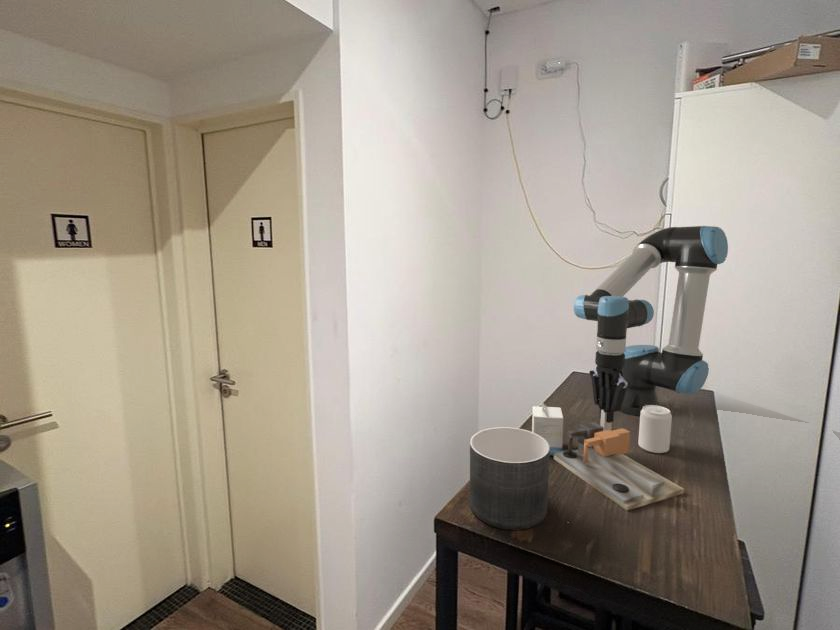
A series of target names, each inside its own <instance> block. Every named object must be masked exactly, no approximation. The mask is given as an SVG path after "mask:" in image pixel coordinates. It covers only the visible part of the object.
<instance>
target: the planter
mask: <svg viewBox="0 0 840 630" xmlns="http://www.w3.org/2000/svg"><path fill="white" fill-rule="evenodd" d="M550 456H551V455H550V446H549V444H548V442H547V441H546V440H545V439H544V438H543V437H541V436H539V435H538V434H535V433H533V432H532V431H531V430H528V429H523V428H519V427H508V426H503V427H502V426H499V427H498V426H497V427H490V428H485V429H482V430H480V431H478V432H476V433H474V434H473V435H472V436H471V438H470V440H469V507H470V510H471V512H472V513H473V514H474V516H475V517H476V518H477V519H479V520H480V521H482V522H483V523H485V524H487V525H488V526H492V527H495V528H497V529H503V530H510V531H520V530H521V531H523V530H527V529H531V528H534V527H536V526H538V525H540V524H541V523H542V522H543V521H544V520H545V519H546V518H547V515H548V494H549V493H548V491H549V477H550V475H549V473H550Z"/></svg>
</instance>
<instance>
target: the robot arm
mask: <svg viewBox="0 0 840 630" xmlns="http://www.w3.org/2000/svg"><path fill="white" fill-rule="evenodd" d="M728 251H729V243H728V238H727V235H726V233H725V231H724V230H723V229H722V227H721V228H720V227H719V226H715V225H714V226H711V225H709V226H708V225H700V226H699V225H697V226H695V225H694V226H670V227H666V228H663V229H659V230H658V231H655V232H653V233H651V234H650V235H648V236H646V237H645V238H644V239H642V240H641V241H640V242H639V243H638V244H636V246H634V248H633V249H632V253H631V254H630V256H629V257H628V258H626V259H625V261H624V262H622V264H620V265H619V266H618V267H617V268H616V269H615V270H614V271H613V272H612V273H611V274H610V275H609V276H608V277H606V279H605V280H604V281H603V282H602V283H601V284H600V285H598V287H597V288H596V289H595V290H594V291H593V292H591V294H590V295H588V294H581V295H578V296H577V297H576V298H575V301H574V302H573V312H574V315H575V316H576V317H577V318H578V319H583V320H587V321H594V322H597V326H596V327H597V330H596V331H597V332H596V343H595V344H596V347H595V349H596V352H595V360H594V361H595V362H594V363H595V365H596V368H595V369H593V370H589V371H588V372H589V376H590V378H591V385H592V392H593V393H592V394H593V401H594V404H595V406H596V405H597V406H598V408H599V416H598V417H599V419H600V421H599V422H600V424H599V425H600V426H602V427H603V431H605V430H610V431H612V425H613V424H612V423H613V422H614V418H615V417H614V415H615V414H614V413H615V412H621V413H624V414H627V415H631V416H632V415H633V416H639V417H640V413H641V410H642V409H643V407H644V406H646V405H656V406H661V405H660V403H659V400H658V395H657V391H656V387H659V388H663V389H666V390H670V391H673V392H676V393H678V394H679V393H681V394H684V395H685V394H686V395H694V394H696V393H698V392H699V391H701V389H702V388H703V386H704V385H705V383H706V381H707V379H708V376H709V372H710V369H709V363H708V362H706V361H705V360H703V358H704V357H703V356H704V354H703V352H702V351H701V350H700V347H699V346H700V341H701V334H702V329H703V324H704V323H703V322H704V314H705V311H706V303H707V296H708V290H709V283H710V277H711V274H713V273H714V272H716V271H717V268H718V265H721V264H723V263H724V262H725V261H726V258H727V257H728ZM662 263H674V269H675V270H677V272H678V278H677V279H678V280H677V284H676V292H675V298H674V304H673V311H672V317H671V324H670V332H669V338H668V343H667V345H665V346H664V347H662V352H661V351H660V348H659V347H658V346H656V345H652V344H633V345H628V346H626V345H627V344H626V343H627V331H628V330H627V329H631V328H636V327H642V326H644V325H646V324H649V323H650V322H652V320H653V319H654V316H655V315H654V314H655V313H654V312H655V310H654V307H653V305H652V304H651V303H650V302H649V301H647V300H645V299H634V300H633V299H632V300H630V299H628V297H626V296H625V295H626V294H627V293H628V292H629V291H630V290H631V289H632V288H633V287H635V285H636V284H637V283H638V282H639V281H640V280H641V279H642V278H643V277H644V276H645V275H646V274H647V273H648V272H649V271H650V270H651V269H655V268H656V267H658V266H659V265H660V264H662Z"/></svg>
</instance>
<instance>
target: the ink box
mask: <svg viewBox="0 0 840 630" xmlns="http://www.w3.org/2000/svg"><path fill="white" fill-rule="evenodd" d="M562 411H563V410H562V408H561V407H559V406H558V407H556V406H555V407H554V406H547V405H546V404H545V403H544V402H543V401H540V406H538V405H536V406H535V405H534V406H532V414H531V416H532V421H531V424H532V425H531V432H533V433H535V434H538V435H539V436H541V437H543V438H544V439H545V440H546V441H547V442H548V444H549V446H550V455H549V456H552V457H554V452H559V451H563V450H564V449H563V447H564V446H563V443H564V441H563V440H564V415H563V412H562Z"/></svg>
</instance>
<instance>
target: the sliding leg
mask: <svg viewBox="0 0 840 630" xmlns="http://www.w3.org/2000/svg"><path fill="white" fill-rule="evenodd" d="M630 440H631V431H629V430H628V429H626V428H623V427H621V428H617V429H613V430H611V431H610V430H605V431H601V432H596V433H595V434H594V438H590V439H585V440H584V459H583V462H584V463H587V460H588V447H592V446H594V451H596V452H598V453H599V454H601V455H603V456H604V457H605V456H610V455H614V454H618V455H620V454H623V455H624V454H627V453H630Z"/></svg>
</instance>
